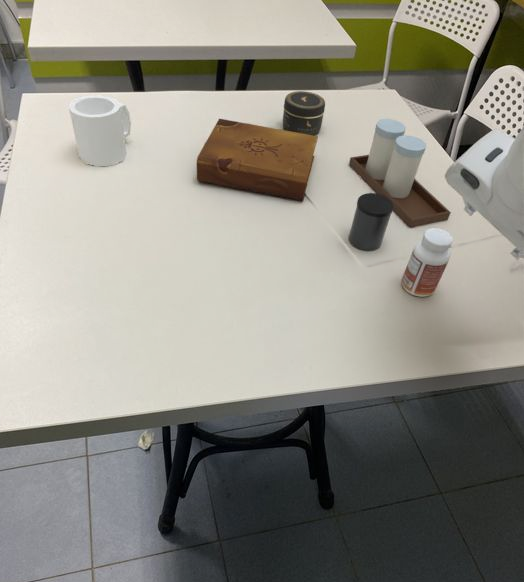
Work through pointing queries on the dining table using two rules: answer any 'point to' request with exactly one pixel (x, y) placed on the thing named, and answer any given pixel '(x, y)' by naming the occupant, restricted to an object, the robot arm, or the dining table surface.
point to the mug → (100, 129)
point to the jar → (303, 112)
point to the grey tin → (370, 221)
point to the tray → (410, 209)
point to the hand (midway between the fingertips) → (493, 231)
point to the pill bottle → (427, 262)
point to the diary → (257, 159)
